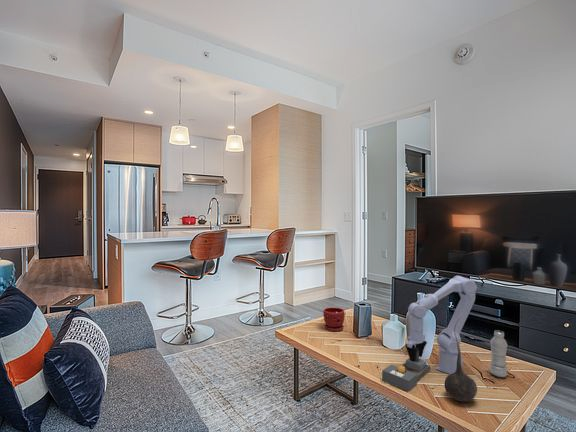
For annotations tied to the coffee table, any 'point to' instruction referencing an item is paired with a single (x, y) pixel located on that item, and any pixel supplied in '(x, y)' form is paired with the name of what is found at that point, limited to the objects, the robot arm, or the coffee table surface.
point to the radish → (460, 382)
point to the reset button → (401, 369)
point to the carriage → (416, 363)
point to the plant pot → (334, 319)
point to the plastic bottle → (498, 354)
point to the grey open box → (399, 378)
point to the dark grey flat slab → (419, 374)
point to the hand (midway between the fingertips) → (415, 358)
